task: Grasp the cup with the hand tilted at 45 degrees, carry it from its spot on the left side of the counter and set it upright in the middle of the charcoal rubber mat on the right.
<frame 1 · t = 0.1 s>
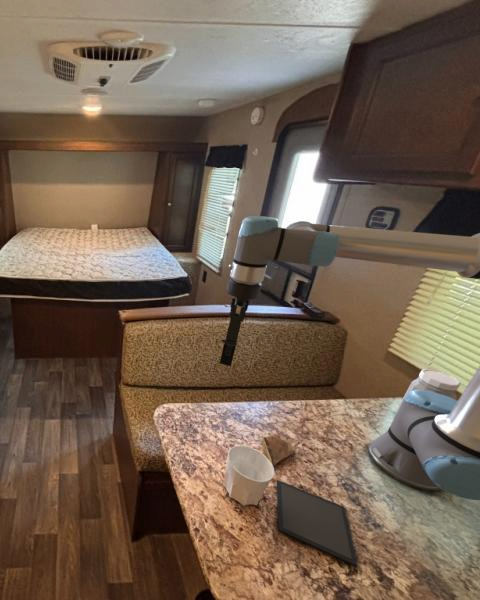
hand: (227, 352, 87), 28 cm above the table, tool pointing down, fingers open, 13 cm apart
shard: (280, 454, 90), on the table
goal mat: (312, 519, 73), on the table
cup: (241, 491, 79), on the table
jar: (414, 422, 103), on the table
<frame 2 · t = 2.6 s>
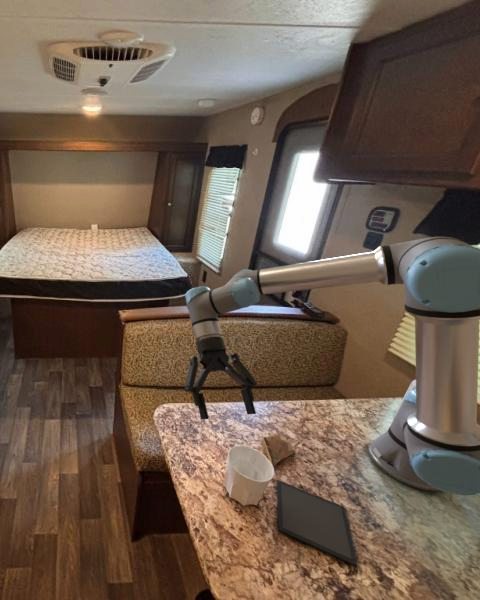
hand: (228, 416, 83), 14 cm above the table, tool tilted 45°, fingers open, 13 cm apart
nothing on the table moved.
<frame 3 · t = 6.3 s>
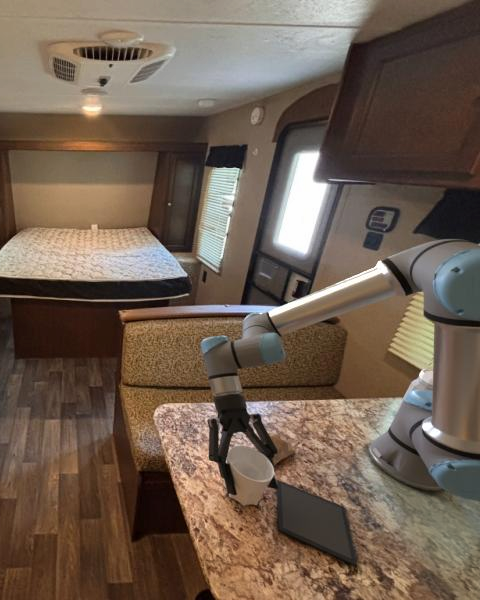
hand: (252, 490, 75), 4 cm above the table, tool tilted 45°, fingers closed on cup, 10 cm apart
cup: (241, 491, 79), on the table, touching gripper
everything else where it was.
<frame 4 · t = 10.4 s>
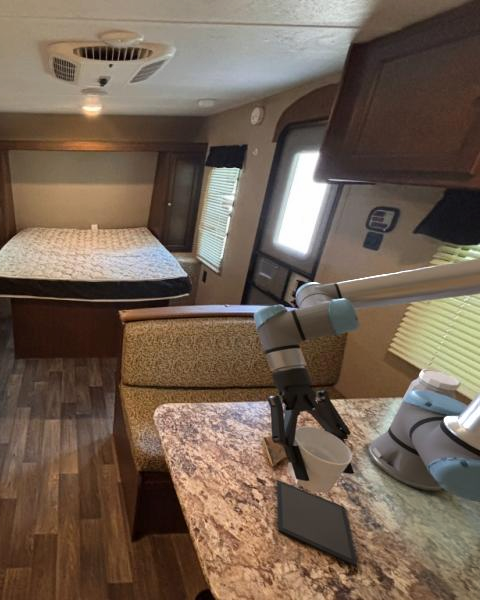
hand: (325, 476, 66), 16 cm above the table, tool tilted 45°, fingers closed on cup, 10 cm apart
cup: (307, 477, 70), point 12 cm above the table, touching gripper
everything else where it was.
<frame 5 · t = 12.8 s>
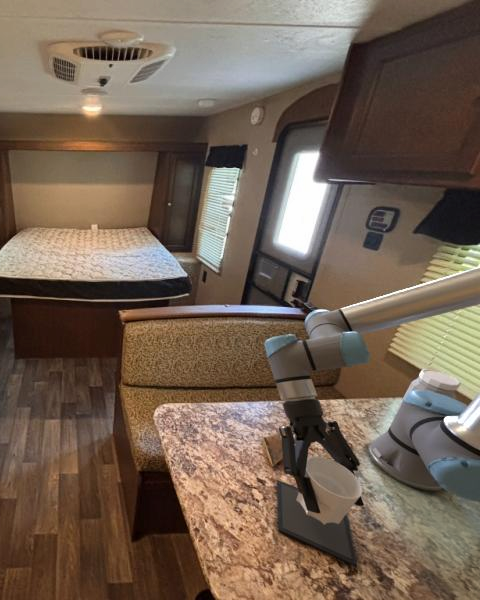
hand: (335, 507, 67), 8 cm above the table, tool tilted 45°, fingers closed on cup, 10 cm apart
cup: (317, 506, 72), point 4 cm above the table, touching gripper
everything else where it was.
when the fingers open (5 cm above the table, at t = 14.4 s): cup stays where it is, resting on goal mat.
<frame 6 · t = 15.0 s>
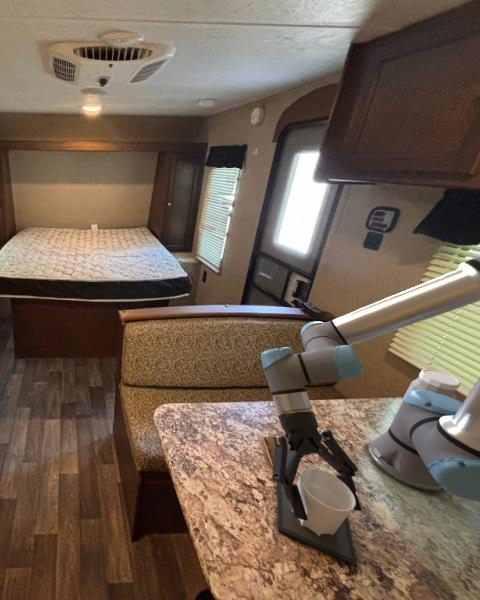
hand: (328, 514, 69), 5 cm above the table, tool tilted 45°, fingers open, 13 cm apart
cup: (312, 517, 73), resting on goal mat
everything else where it was.
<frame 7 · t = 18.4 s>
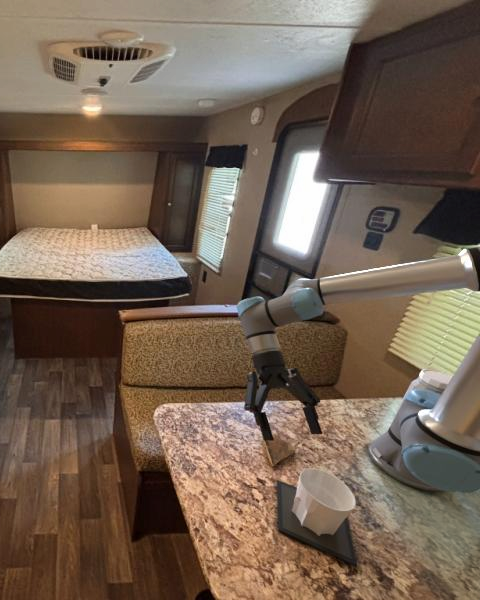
hand: (293, 437, 78), 14 cm above the table, tool tilted 45°, fingers open, 13 cm apart
nothing on the table moved.
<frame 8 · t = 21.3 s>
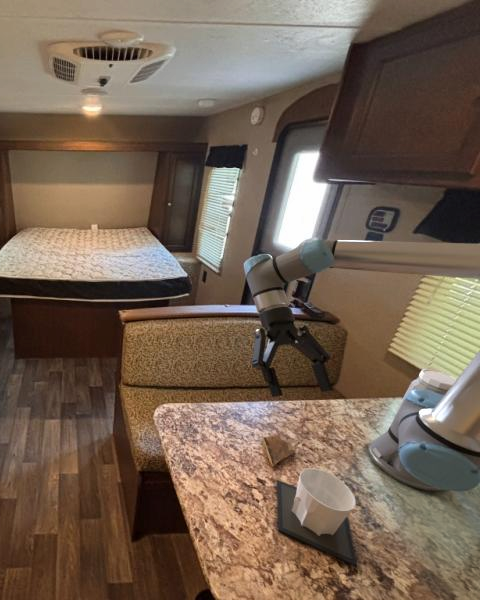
hand: (302, 393, 75), 26 cm above the table, tool tilted 45°, fingers open, 13 cm apart
nothing on the table moved.
at the end: cup inside the target area on the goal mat (0.1 cm from its centre), point 0.5 cm above the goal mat's base; cup tilted 0°; the gripper is holding nothing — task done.
